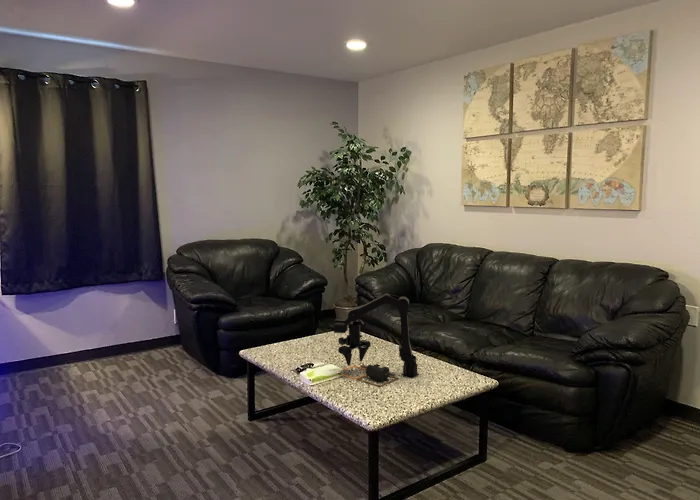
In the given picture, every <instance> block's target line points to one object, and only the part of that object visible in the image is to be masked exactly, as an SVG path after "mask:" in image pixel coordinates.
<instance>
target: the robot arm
mask: <svg viewBox="0 0 700 500" xmlns="http://www.w3.org/2000/svg"><path fill="white" fill-rule="evenodd" d="M386 303H387V304H388V305H391V306H393V307H396V308H397V311H398V314H399V319H400V332H401V333H400V334H401V335H400V336H401V345H398V352H399V353H398V357H400V360H401V361H402V362H403V366H402V374H401V376H403V377H407V378H411V379H413V378H415V377H418V376H420V373H418V363H417V356H416V355H414V353H413V351H412V350H413V349H412V346H411V342H410V333H409V332H410V331H409V318H408V317H409V316H408V315H409V314H408V313H409V307H410V299H409V298H407V296H398V295H394V294H389V293H384V294H382V295H381V296H379V297H377V298H375V299H373V300H371V301H369V302H368V303H365V304H363V305H360V306H355V307H352V308H351V309H350V310H349V312H348V314H347V317H346V318H345V319H334V324H333V333H334V334H346V333H347V332H348V334H347V335H346V337H343V336H342V337H339V338H338V339H337V340H338V344H339V345H341V346H339V347H338V350H337V351H338V353H339V354H340V355H342V356H343V357H344V359H345V362H346V364H347V366H349V367H351V364H352V363H351V361H352V357H353V353H352V351H353V350H356V349H358V355H359V357H358V358H359V362H362V361H363V360H364V357H365V356H366V354H367V352H368V351H369V349H370V348H371V341H370V340H367V339H362V337H363V335H362V334H361V326H364V324H365V323H364V321H362V319H361V318H362V317H363V316H365V315H366V314H367V313H369V312H372V310H375V309H377V308H379V307H381V306H383V305H385V304H386ZM358 320H359V321H358Z"/></svg>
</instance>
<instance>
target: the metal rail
mask: <svg viewBox="0 0 700 500" xmlns="http://www.w3.org/2000/svg"><path fill="white" fill-rule="evenodd" d="M367 366H368V365H365V364H363V363H362V364H360V367H362V368H365V369H366V368H367ZM387 374H389V375H390V376H393V377H396V376H397V374H396V373H395V372H390V371H389V372H387V373H386V375H387Z"/></svg>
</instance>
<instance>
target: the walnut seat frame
mask: <svg viewBox="0 0 700 500" xmlns="http://www.w3.org/2000/svg"><path fill="white" fill-rule="evenodd" d="M385 375H386V374H385ZM365 378H369V377H368V376H367V375H366V376H364V377H361V378H359V379H357V380H356V381H359V382H361V383H364V384H367V385H371V386H375V387H377V388H381V387H383V386H384V387H385V386H386V385H388V384H391V383H392V382H395V381H398V380H400V379H399V377H396V376H395V377H393V376H390V375H389V377H388V378H392V380H388V381H386V382H383V384H380V385H379V384H376V383H373V382H370V381H367V380H364V379H365Z"/></svg>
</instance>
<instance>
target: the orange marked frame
mask: <svg viewBox="0 0 700 500" xmlns="http://www.w3.org/2000/svg"><path fill="white" fill-rule="evenodd" d="M352 368H357V369H360V370H364V371H366V369H365V368H362V367H361V366H357V365H350V366H349V367H346V368H343V369H342V370H343V371H346V370H349V369H352ZM341 374H342V375H341V376H344V377H347V378H350V379H353V380H356V381H358V380H357V379H359V378H361V377H364V376H366V373H365V374H363V375H361V376H359V377H358V376H357V377H354V376H351V375H347V374H344V373H341Z"/></svg>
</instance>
